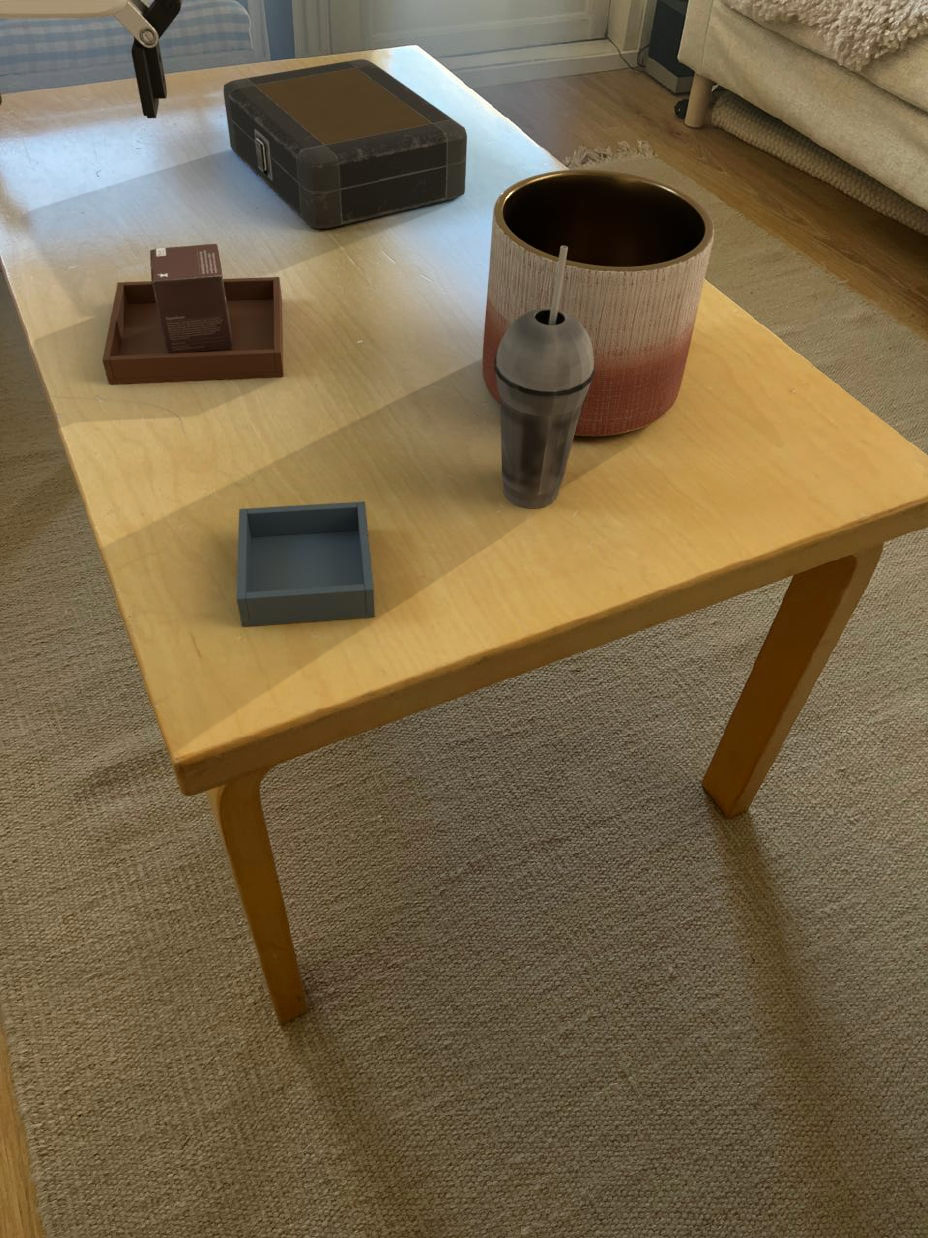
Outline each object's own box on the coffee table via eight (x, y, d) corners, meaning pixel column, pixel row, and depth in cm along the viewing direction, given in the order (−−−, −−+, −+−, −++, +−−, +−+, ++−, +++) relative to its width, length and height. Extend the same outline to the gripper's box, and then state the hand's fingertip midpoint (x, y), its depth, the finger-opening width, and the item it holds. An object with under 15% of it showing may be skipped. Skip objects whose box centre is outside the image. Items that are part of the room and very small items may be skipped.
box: (234, 350, 90) (222, 275, 85) (166, 356, 89) (150, 281, 84) (229, 315, 94) (218, 241, 89) (164, 321, 93) (148, 247, 88)
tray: (108, 384, 87) (102, 359, 85) (123, 305, 96) (117, 281, 94) (283, 376, 89) (280, 352, 87) (282, 300, 98) (279, 276, 96)
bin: (241, 626, 69) (236, 599, 66) (243, 536, 75) (238, 508, 73) (375, 617, 70) (373, 589, 68) (366, 528, 76) (364, 501, 74)
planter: (697, 358, 93) (737, 192, 82) (649, 467, 82) (688, 293, 70) (520, 315, 97) (534, 151, 86) (450, 413, 86) (456, 239, 74)
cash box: (221, 148, 121) (212, 80, 115) (369, 119, 128) (367, 54, 122) (309, 236, 107) (303, 164, 101) (470, 198, 114) (473, 128, 108)
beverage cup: (469, 500, 78) (482, 263, 64) (509, 450, 83) (530, 218, 68) (553, 531, 76) (586, 293, 61) (589, 479, 81) (629, 245, 66)
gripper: (-225, -244, 46) (-87, 138, 58) (158, -234, 48) (211, 133, 60) (-177, -267, 51) (-60, 89, 63) (168, -257, 53) (216, 86, 65)
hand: (73, 110), depth 62 cm, fingers open, 9 cm apart
